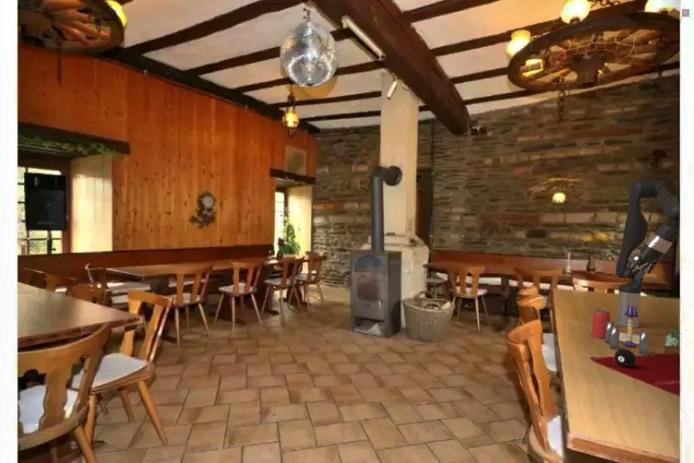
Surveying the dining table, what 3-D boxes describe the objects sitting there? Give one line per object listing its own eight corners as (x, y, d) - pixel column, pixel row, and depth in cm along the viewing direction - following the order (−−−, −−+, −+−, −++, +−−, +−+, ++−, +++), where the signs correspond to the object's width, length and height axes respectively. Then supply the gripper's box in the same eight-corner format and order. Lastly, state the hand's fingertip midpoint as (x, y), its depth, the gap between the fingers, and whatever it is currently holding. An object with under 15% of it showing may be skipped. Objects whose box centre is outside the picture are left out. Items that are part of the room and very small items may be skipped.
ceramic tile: (646, 339, 175) (646, 336, 175) (646, 345, 165) (647, 343, 165) (613, 333, 182) (613, 331, 182) (612, 339, 172) (612, 337, 172)
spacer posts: (606, 341, 169) (607, 320, 169) (652, 351, 156) (654, 329, 156) (597, 345, 162) (598, 323, 162) (644, 356, 150) (646, 333, 149)
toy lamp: (619, 343, 166) (622, 304, 165) (630, 344, 166) (632, 305, 166) (628, 347, 161) (631, 307, 161) (639, 347, 161) (641, 307, 161)
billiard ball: (638, 367, 138) (639, 350, 138) (630, 370, 135) (631, 353, 134) (619, 362, 143) (620, 345, 143) (611, 364, 140) (612, 348, 140)
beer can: (612, 340, 171) (613, 312, 171) (595, 338, 173) (597, 311, 172) (605, 335, 178) (606, 309, 177) (589, 334, 179) (590, 308, 179)
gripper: (656, 245, 169) (632, 275, 175) (638, 239, 163) (613, 271, 169) (673, 254, 163) (647, 285, 169) (655, 249, 157) (629, 281, 163)
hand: (630, 278), depth 169 cm, fingers open, 8 cm apart
